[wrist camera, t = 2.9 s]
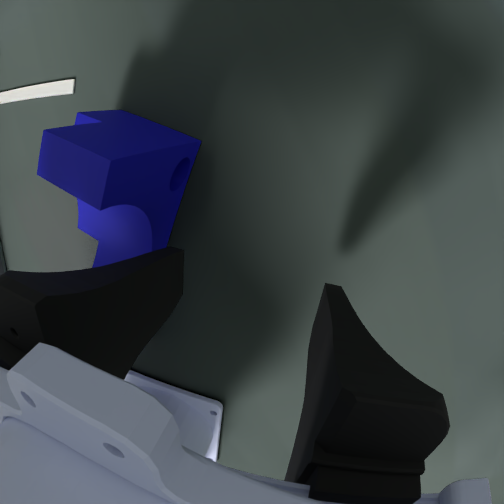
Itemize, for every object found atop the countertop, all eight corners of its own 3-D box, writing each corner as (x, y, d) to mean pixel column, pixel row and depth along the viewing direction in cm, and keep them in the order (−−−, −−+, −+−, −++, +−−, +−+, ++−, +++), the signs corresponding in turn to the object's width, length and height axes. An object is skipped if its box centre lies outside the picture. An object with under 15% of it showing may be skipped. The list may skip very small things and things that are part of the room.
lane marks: (89, 329, 20) (88, 330, 20) (13, 292, 21) (12, 293, 21) (75, 79, 13) (73, 79, 13) (-7, 94, 14) (-8, 94, 14)
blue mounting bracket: (121, 109, 13) (19, 119, 8) (201, 140, 13) (111, 160, 8) (85, 300, 19) (23, 353, 13) (142, 336, 18) (85, 402, 13)
